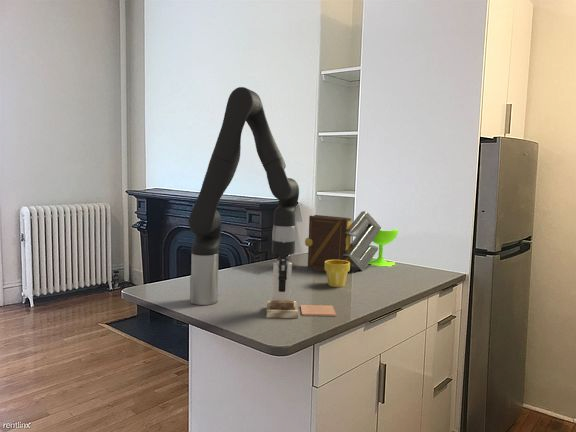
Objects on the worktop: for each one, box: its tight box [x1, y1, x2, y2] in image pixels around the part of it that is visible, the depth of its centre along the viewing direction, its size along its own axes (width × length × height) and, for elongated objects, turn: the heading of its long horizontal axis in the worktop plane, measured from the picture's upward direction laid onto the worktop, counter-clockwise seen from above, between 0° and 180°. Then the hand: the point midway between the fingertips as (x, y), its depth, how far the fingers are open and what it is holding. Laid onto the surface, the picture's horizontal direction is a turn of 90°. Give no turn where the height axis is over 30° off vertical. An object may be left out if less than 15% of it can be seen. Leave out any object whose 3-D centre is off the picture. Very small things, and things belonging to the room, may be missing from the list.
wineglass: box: [369, 228, 399, 267], centre depth 245 cm, size 16×16×18 cm
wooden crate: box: [304, 214, 352, 273], centre depth 228 cm, size 22×8×25 cm, turn 58°
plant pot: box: [325, 260, 351, 288], centre depth 200 cm, size 10×10×10 cm
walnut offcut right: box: [283, 300, 294, 310], centre depth 159 cm, size 3×2×4 cm
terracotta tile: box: [300, 304, 337, 317], centre depth 164 cm, size 11×10×1 cm
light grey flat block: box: [271, 261, 293, 303], centre depth 163 cm, size 6×2×13 cm, turn 92°
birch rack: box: [266, 300, 299, 319], centre depth 161 cm, size 10×11×2 cm
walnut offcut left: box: [270, 300, 282, 310], centre depth 159 cm, size 3×2×4 cm
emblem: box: [343, 210, 382, 272], centre depth 228 cm, size 28×5×28 cm, turn 141°
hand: (281, 290), depth 163 cm, fingers closed on light grey flat block, 2 cm apart
